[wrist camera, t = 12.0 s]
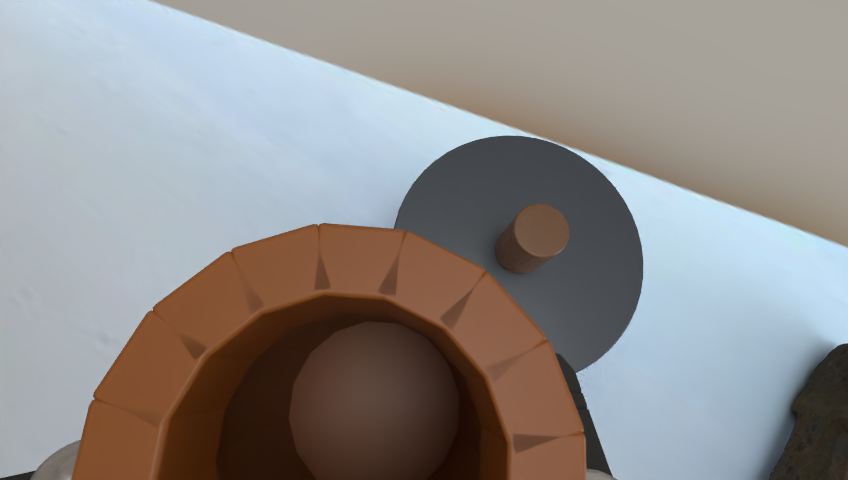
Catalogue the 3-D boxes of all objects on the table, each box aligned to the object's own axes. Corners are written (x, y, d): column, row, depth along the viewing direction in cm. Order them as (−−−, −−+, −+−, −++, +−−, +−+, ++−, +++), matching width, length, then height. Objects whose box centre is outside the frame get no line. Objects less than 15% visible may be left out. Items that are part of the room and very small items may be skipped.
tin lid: (380, 372, 21) (376, 375, 16) (402, 135, 24) (403, 83, 19) (637, 391, 21) (701, 399, 17) (627, 155, 24) (679, 109, 20)
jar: (266, 503, 14) (-9, 783, 5) (295, 304, 16) (135, 206, 6) (465, 516, 15) (596, 811, 5) (474, 317, 16) (583, 242, 6)
